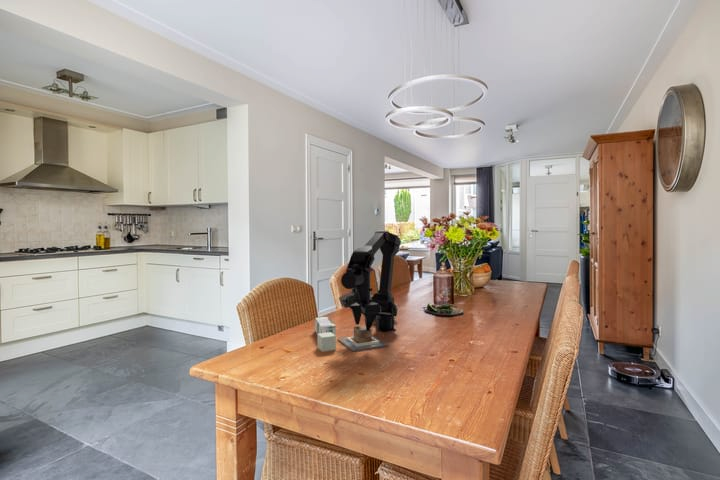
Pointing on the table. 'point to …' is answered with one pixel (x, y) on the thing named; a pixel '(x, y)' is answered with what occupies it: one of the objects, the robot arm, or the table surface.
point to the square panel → (362, 344)
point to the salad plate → (442, 310)
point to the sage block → (326, 341)
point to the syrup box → (324, 325)
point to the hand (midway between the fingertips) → (362, 327)
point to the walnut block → (362, 334)
